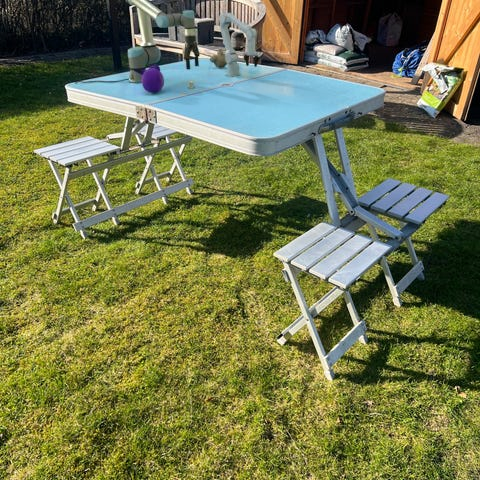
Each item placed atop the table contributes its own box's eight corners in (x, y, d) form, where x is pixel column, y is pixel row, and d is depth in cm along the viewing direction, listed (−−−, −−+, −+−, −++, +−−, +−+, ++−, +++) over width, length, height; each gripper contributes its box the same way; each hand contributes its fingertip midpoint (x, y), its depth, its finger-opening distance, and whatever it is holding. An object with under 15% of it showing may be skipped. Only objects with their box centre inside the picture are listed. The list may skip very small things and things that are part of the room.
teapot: (213, 69, 375) (212, 50, 367) (207, 67, 383) (206, 48, 376) (235, 67, 384) (235, 48, 376) (229, 65, 392) (228, 46, 385)
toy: (156, 85, 322) (164, 98, 301) (131, 81, 314) (137, 93, 294) (160, 63, 314) (168, 74, 293) (135, 58, 306) (141, 69, 286)
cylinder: (195, 87, 316) (194, 81, 314) (191, 88, 313) (191, 82, 311) (190, 87, 318) (190, 81, 316) (187, 88, 315) (187, 81, 313)
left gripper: (186, 37, 300) (189, 70, 310) (202, 33, 320) (204, 65, 330) (176, 37, 302) (179, 70, 313) (193, 33, 322) (195, 64, 333)
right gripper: (240, 46, 333) (240, 66, 339) (256, 48, 325) (256, 67, 332) (246, 45, 337) (246, 64, 344) (261, 47, 330) (261, 66, 337)
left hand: (192, 67), depth 322 cm, fingers open, 13 cm apart
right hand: (251, 66), depth 338 cm, fingers open, 7 cm apart
